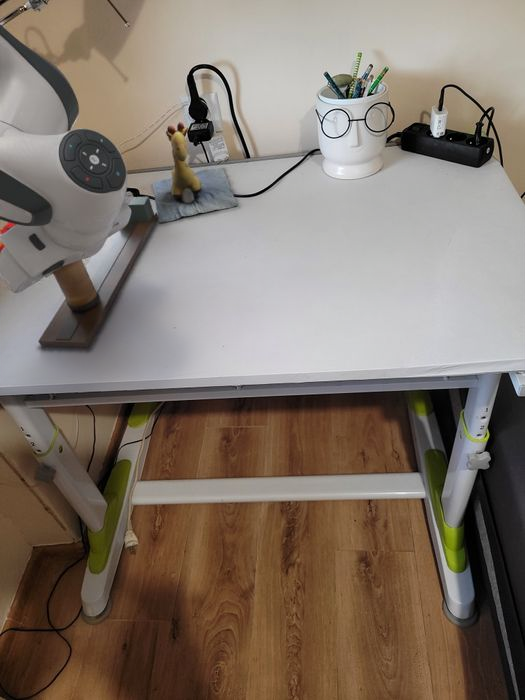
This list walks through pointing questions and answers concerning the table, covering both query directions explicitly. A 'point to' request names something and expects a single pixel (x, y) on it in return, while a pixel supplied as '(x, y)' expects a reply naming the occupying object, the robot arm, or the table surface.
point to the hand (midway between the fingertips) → (62, 261)
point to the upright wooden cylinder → (77, 286)
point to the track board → (99, 287)
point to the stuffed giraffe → (190, 185)
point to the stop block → (140, 209)
